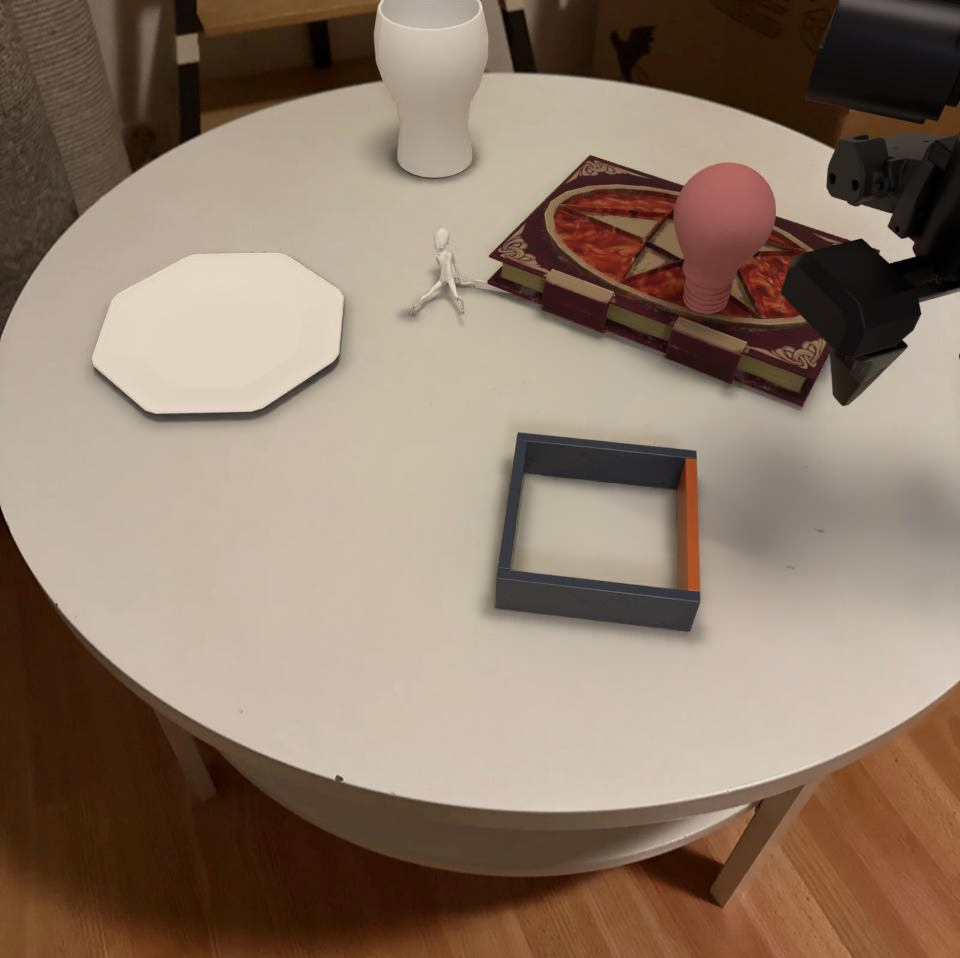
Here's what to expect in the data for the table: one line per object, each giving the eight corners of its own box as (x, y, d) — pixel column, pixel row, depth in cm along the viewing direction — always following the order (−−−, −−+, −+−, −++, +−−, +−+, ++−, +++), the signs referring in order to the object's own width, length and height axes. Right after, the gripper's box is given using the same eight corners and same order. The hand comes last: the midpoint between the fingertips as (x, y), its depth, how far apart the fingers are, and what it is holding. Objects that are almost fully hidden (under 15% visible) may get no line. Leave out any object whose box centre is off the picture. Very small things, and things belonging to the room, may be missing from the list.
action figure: (547, 343, 78) (562, 276, 81) (543, 301, 73) (560, 233, 77) (412, 329, 81) (432, 265, 84) (400, 288, 76) (422, 222, 79)
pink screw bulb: (644, 322, 71) (673, 186, 62) (666, 269, 76) (696, 134, 66) (735, 346, 70) (778, 210, 61) (753, 290, 74) (795, 155, 65)
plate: (199, 465, 68) (194, 451, 67) (57, 342, 77) (50, 328, 76) (392, 335, 78) (390, 322, 76) (246, 239, 86) (243, 225, 85)
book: (869, 277, 84) (889, 229, 80) (798, 416, 71) (818, 368, 68) (588, 182, 92) (594, 135, 88) (482, 291, 80) (484, 242, 76)
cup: (497, 179, 92) (501, 26, 81) (392, 192, 91) (381, 38, 79) (473, 125, 99) (474, -23, 87) (375, 137, 97) (363, -13, 86)
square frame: (687, 482, 67) (696, 450, 64) (690, 632, 59) (700, 602, 56) (515, 464, 68) (517, 431, 65) (494, 608, 60) (495, 578, 57)
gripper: (1054, 36, 50) (941, 269, 62) (761, 94, 46) (700, 334, 58) (1226, 137, 44) (1063, 376, 56) (904, 216, 39) (801, 459, 51)
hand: (904, 381), depth 55 cm, fingers open, 9 cm apart
